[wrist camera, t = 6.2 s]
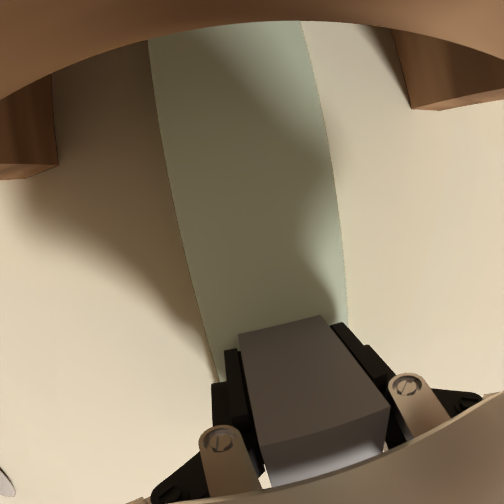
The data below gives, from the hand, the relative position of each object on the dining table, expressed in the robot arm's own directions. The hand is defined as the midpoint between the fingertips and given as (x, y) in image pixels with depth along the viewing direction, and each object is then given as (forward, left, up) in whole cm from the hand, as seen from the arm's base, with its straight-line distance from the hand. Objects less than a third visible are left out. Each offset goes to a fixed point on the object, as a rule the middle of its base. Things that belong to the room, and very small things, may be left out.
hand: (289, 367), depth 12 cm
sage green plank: (0, -8, -2) cm, 8 cm away
